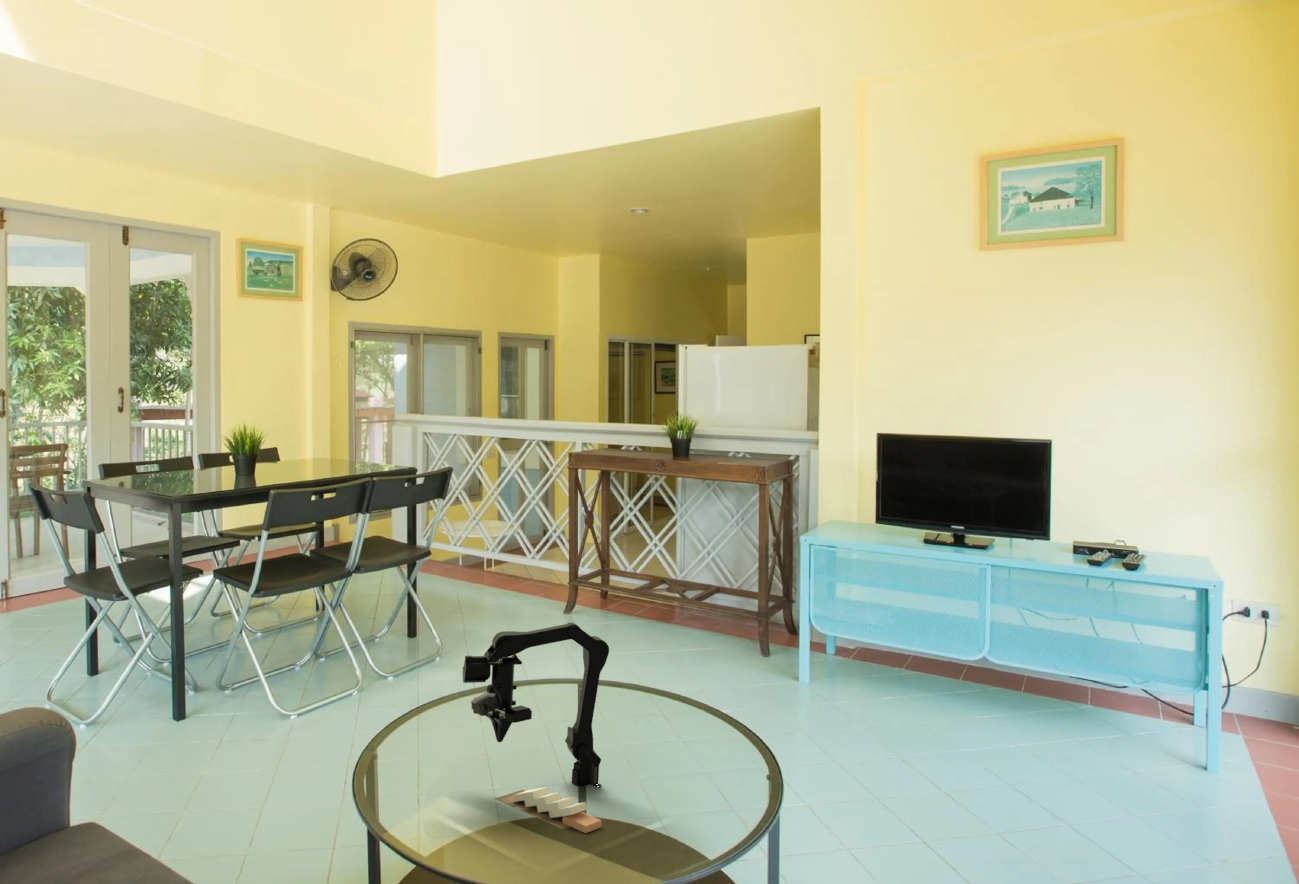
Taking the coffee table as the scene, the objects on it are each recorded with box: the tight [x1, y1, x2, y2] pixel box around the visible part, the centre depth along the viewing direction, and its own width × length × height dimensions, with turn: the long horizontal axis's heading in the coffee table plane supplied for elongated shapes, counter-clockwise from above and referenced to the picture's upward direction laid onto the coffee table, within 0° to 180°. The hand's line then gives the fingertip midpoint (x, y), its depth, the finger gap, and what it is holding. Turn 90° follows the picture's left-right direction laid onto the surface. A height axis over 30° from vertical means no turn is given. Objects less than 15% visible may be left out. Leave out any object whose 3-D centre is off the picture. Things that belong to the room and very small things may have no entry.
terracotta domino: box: [562, 811, 603, 834], centre depth 190 cm, size 2×5×8 cm
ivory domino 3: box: [537, 796, 575, 813], centre depth 196 cm, size 2×5×8 cm
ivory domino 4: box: [549, 801, 588, 818], centre depth 193 cm, size 2×5×8 cm
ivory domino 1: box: [513, 786, 550, 802], centre depth 202 cm, size 2×5×8 cm
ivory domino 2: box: [524, 791, 562, 807], centre depth 199 cm, size 2×5×8 cm
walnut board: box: [494, 789, 571, 830], centre depth 199 cm, size 26×9×1 cm, turn 48°
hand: (499, 741), depth 212 cm, fingers closed
